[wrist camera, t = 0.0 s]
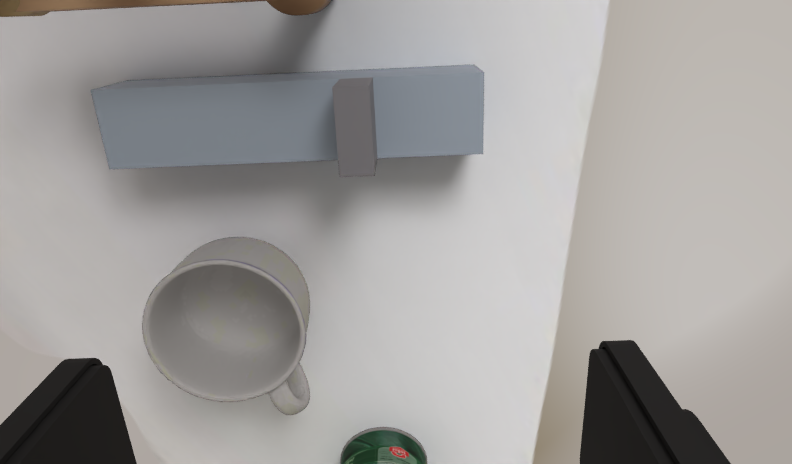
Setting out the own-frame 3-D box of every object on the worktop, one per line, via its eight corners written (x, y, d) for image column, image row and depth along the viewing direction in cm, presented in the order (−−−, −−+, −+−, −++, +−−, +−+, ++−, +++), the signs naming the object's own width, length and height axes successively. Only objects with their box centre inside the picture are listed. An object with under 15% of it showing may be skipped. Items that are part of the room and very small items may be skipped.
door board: (127, 80, 39) (53, 99, 31) (474, 64, 39) (494, 80, 30) (142, 151, 41) (76, 187, 33) (473, 137, 40) (492, 170, 32)
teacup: (158, 247, 44) (109, 296, 36) (284, 199, 42) (259, 240, 35) (240, 386, 49) (211, 454, 41) (356, 348, 47) (348, 411, 40)
